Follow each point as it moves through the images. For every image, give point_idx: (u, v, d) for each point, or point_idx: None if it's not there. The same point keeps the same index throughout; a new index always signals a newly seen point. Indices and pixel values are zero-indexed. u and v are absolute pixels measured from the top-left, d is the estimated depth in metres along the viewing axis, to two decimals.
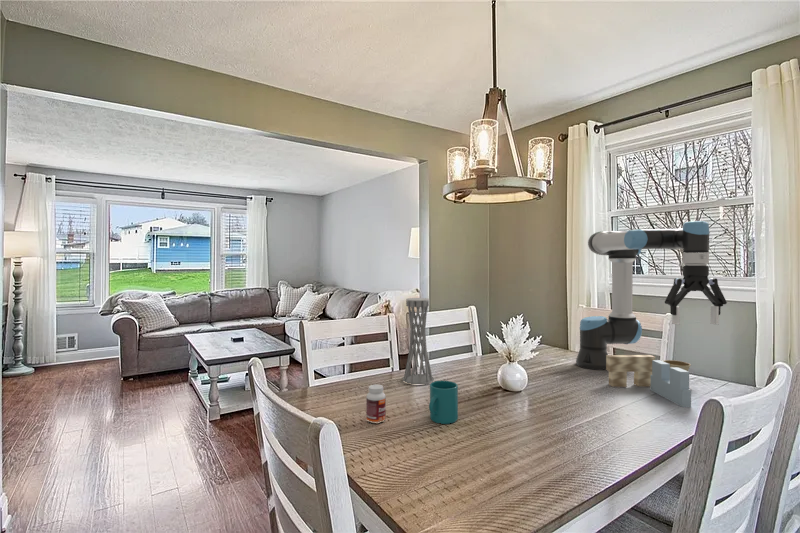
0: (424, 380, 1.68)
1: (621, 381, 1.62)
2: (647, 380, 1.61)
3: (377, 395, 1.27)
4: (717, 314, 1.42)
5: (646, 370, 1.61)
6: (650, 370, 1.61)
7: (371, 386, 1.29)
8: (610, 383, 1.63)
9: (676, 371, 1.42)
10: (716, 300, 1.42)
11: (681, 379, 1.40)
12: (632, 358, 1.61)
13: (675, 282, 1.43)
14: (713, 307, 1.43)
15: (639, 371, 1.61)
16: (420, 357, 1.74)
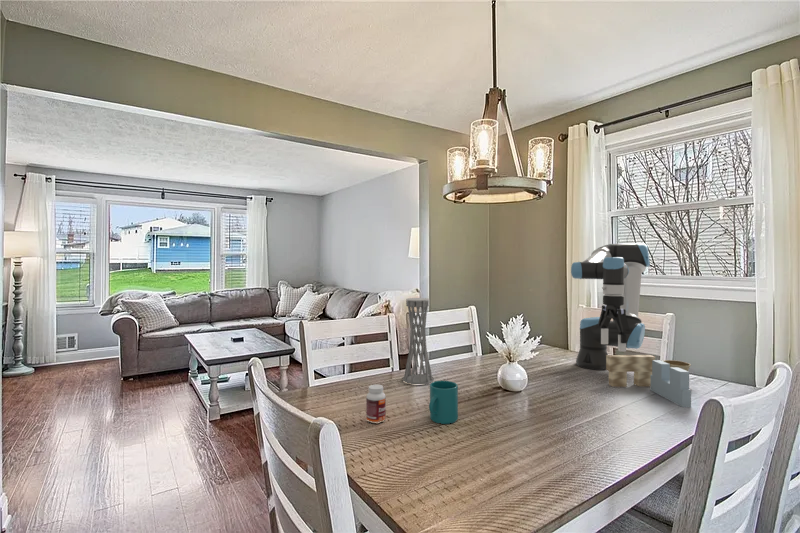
0: (424, 380, 1.68)
1: (621, 381, 1.62)
2: (647, 380, 1.61)
3: (377, 395, 1.27)
4: (618, 341, 1.56)
5: (646, 370, 1.61)
6: (650, 370, 1.61)
7: (371, 386, 1.29)
8: (610, 383, 1.63)
9: (676, 371, 1.42)
10: (618, 328, 1.56)
11: (681, 379, 1.40)
12: (632, 358, 1.61)
13: None
14: None
15: (639, 371, 1.61)
16: (420, 357, 1.74)
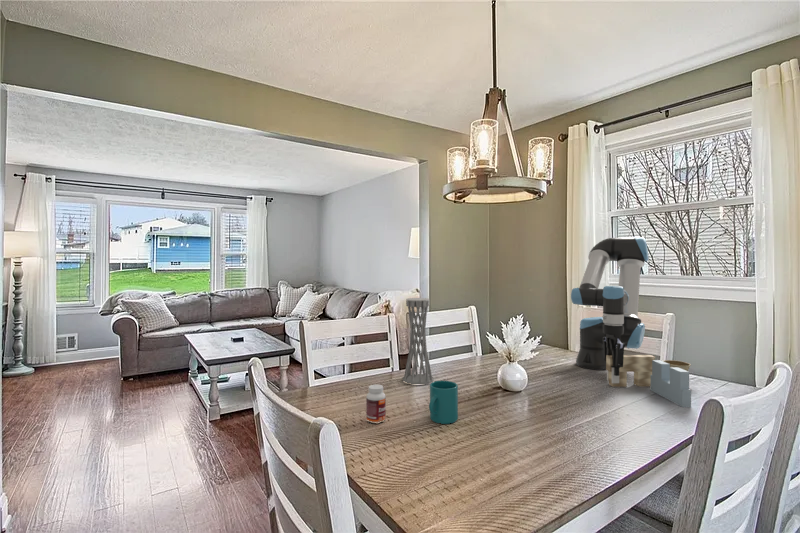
0: (424, 380, 1.68)
1: (621, 381, 1.62)
2: (647, 380, 1.61)
3: (377, 395, 1.27)
4: (612, 374, 1.61)
5: (646, 370, 1.61)
6: (650, 370, 1.61)
7: (371, 386, 1.29)
8: (610, 383, 1.63)
9: (676, 371, 1.42)
10: (613, 361, 1.60)
11: (681, 379, 1.40)
12: (632, 358, 1.61)
13: None
14: None
15: (639, 371, 1.61)
16: (420, 357, 1.74)
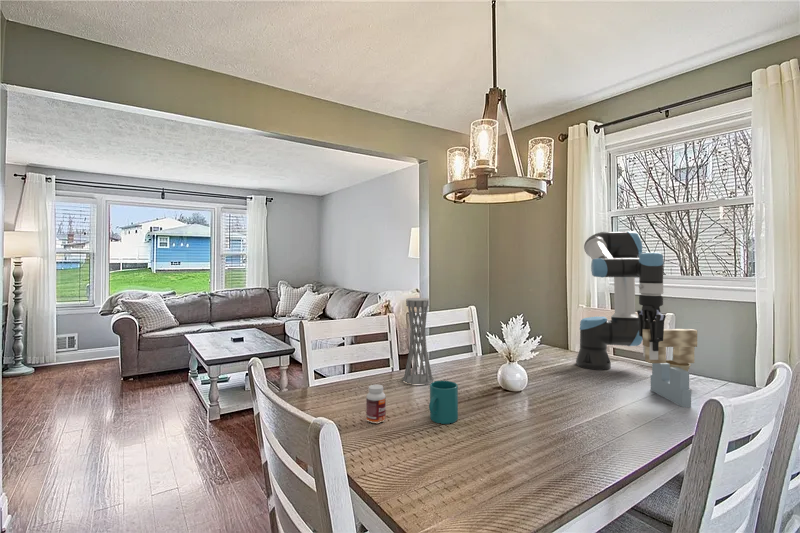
0: (424, 380, 1.68)
1: (659, 357, 1.46)
2: (689, 356, 1.46)
3: (377, 395, 1.27)
4: (650, 349, 1.46)
5: (687, 345, 1.46)
6: (692, 345, 1.46)
7: (371, 386, 1.29)
8: (647, 360, 1.48)
9: (676, 371, 1.42)
10: (651, 335, 1.45)
11: (681, 379, 1.40)
12: (672, 332, 1.46)
13: None
14: None
15: (680, 346, 1.46)
16: (420, 357, 1.74)
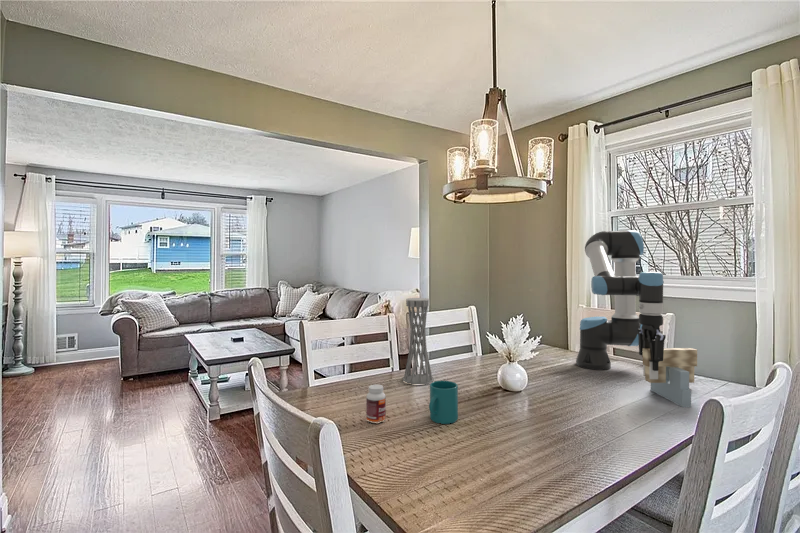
0: (424, 380, 1.68)
1: (659, 377, 1.46)
2: (689, 375, 1.46)
3: (377, 395, 1.27)
4: (649, 369, 1.46)
5: (687, 365, 1.46)
6: (692, 365, 1.46)
7: (371, 386, 1.29)
8: (647, 379, 1.48)
9: (676, 371, 1.42)
10: (651, 354, 1.45)
11: (681, 379, 1.40)
12: (672, 351, 1.46)
13: None
14: None
15: (680, 366, 1.46)
16: (420, 357, 1.74)
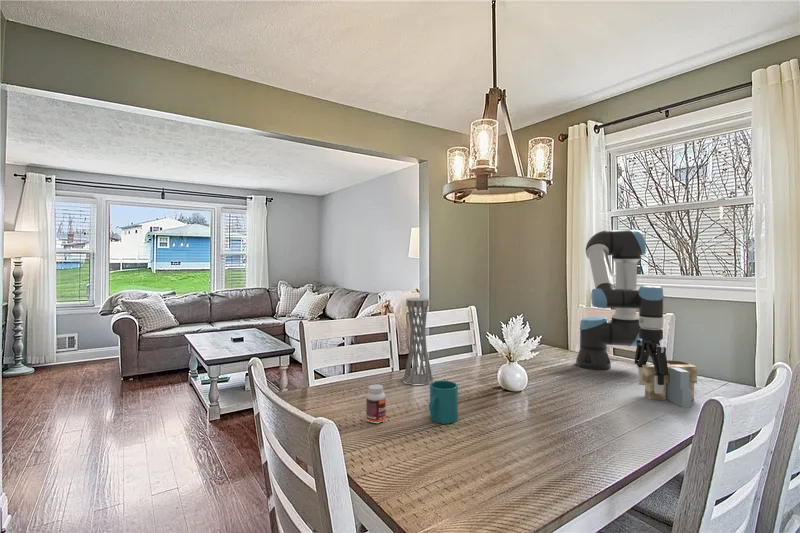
0: (424, 380, 1.68)
1: None
2: None
3: (377, 395, 1.27)
4: (655, 383, 1.43)
5: None
6: (691, 381, 1.46)
7: (371, 386, 1.29)
8: (647, 395, 1.48)
9: (676, 371, 1.42)
10: (655, 368, 1.43)
11: (681, 379, 1.40)
12: None
13: None
14: None
15: None
16: (420, 357, 1.74)
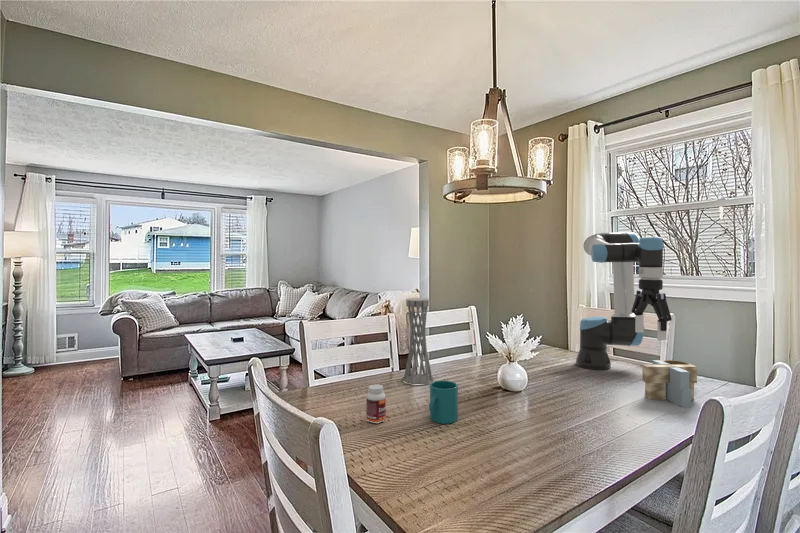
0: (424, 380, 1.68)
1: (659, 393, 1.47)
2: None
3: (377, 395, 1.27)
4: (657, 329, 1.42)
5: None
6: (691, 381, 1.46)
7: (371, 386, 1.29)
8: (647, 395, 1.48)
9: (676, 371, 1.42)
10: (658, 315, 1.42)
11: (681, 379, 1.40)
12: None
13: None
14: None
15: None
16: (420, 357, 1.74)
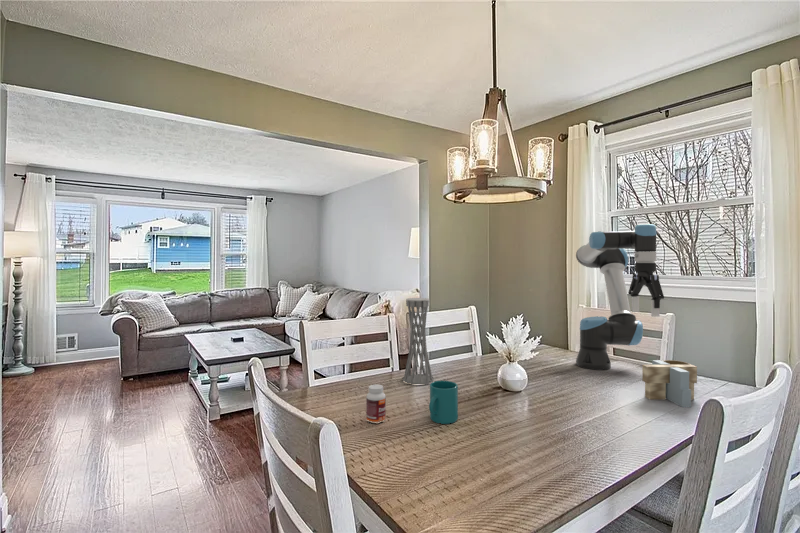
0: (424, 380, 1.68)
1: (659, 393, 1.47)
2: None
3: (377, 395, 1.27)
4: (651, 307, 1.58)
5: None
6: (691, 381, 1.46)
7: (371, 386, 1.29)
8: (647, 395, 1.48)
9: (676, 371, 1.42)
10: (652, 294, 1.58)
11: (681, 379, 1.40)
12: None
13: None
14: None
15: None
16: (420, 357, 1.74)
